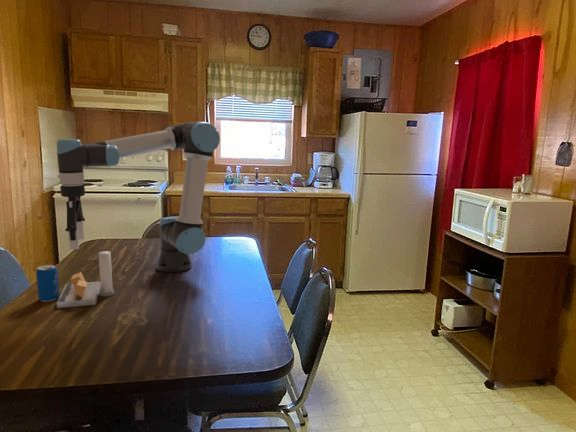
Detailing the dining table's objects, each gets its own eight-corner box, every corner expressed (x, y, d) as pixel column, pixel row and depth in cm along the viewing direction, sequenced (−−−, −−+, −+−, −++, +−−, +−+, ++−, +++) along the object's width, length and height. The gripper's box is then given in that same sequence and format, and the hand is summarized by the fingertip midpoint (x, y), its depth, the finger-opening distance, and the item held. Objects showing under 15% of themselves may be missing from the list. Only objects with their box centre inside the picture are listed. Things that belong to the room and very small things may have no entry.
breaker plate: (100, 286, 162) (100, 280, 162) (95, 304, 145) (95, 298, 145) (66, 289, 158) (65, 283, 158) (57, 308, 142) (56, 301, 141)
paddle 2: (83, 293, 150) (87, 281, 150) (81, 299, 145) (85, 287, 145) (75, 291, 149) (79, 279, 149) (72, 297, 144) (76, 285, 144)
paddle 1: (86, 282, 158) (81, 271, 157) (84, 287, 153) (78, 276, 152) (78, 285, 158) (73, 274, 156) (76, 290, 153) (70, 280, 151)
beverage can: (50, 303, 145) (47, 270, 143) (34, 301, 146) (31, 269, 144) (63, 296, 151) (61, 265, 149) (48, 294, 152) (45, 263, 150)
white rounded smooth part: (115, 290, 158) (112, 250, 155) (114, 296, 153) (111, 254, 150) (100, 292, 156) (97, 251, 153) (98, 297, 151) (96, 255, 148)
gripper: (66, 180, 154) (71, 235, 158) (52, 190, 131) (58, 254, 135) (88, 180, 156) (92, 234, 161) (79, 189, 133) (84, 252, 138)
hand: (77, 243), depth 148 cm, fingers open, 13 cm apart
